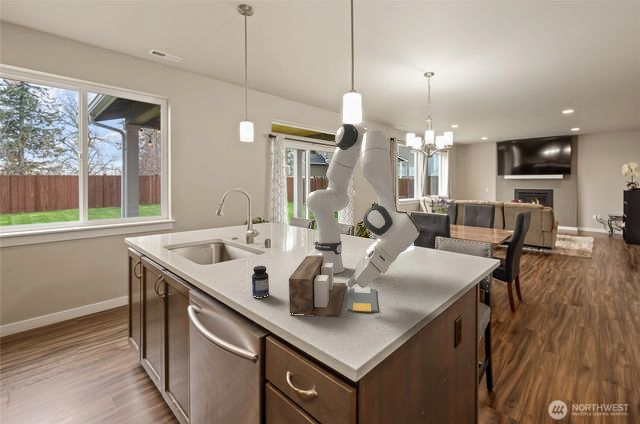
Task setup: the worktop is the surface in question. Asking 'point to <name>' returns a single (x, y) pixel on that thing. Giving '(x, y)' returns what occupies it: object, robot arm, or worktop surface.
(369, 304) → the card
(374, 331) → the worktop surface
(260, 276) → the pill bottle
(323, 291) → the outer key
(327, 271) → the inner key
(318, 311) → the key panel
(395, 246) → the robot arm
